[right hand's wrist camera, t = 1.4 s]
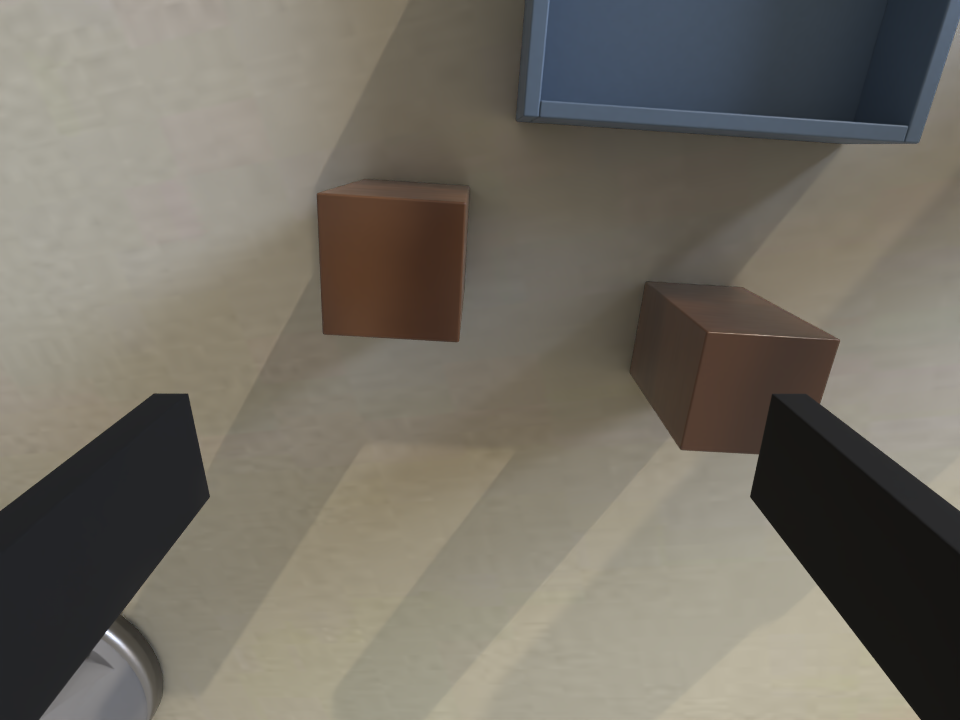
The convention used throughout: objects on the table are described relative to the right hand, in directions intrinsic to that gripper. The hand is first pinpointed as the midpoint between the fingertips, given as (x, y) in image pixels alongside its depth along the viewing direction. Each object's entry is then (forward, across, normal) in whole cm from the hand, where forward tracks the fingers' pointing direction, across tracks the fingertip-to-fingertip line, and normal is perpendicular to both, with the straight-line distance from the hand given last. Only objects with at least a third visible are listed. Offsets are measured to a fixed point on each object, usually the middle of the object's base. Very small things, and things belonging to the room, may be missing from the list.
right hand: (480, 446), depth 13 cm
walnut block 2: (+16, +11, -3) cm, 19 cm away
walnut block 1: (+16, -3, +2) cm, 16 cm away
